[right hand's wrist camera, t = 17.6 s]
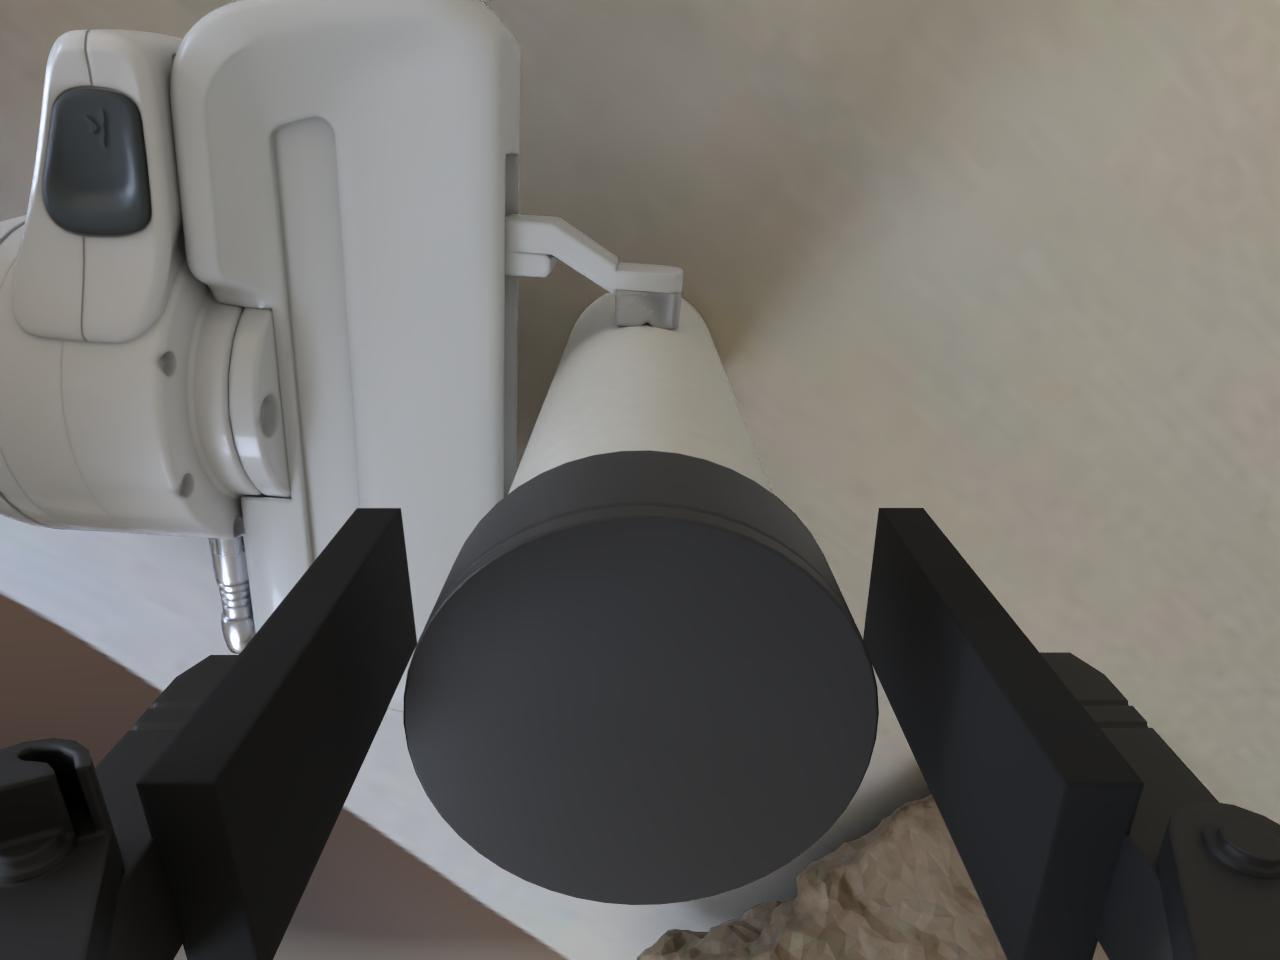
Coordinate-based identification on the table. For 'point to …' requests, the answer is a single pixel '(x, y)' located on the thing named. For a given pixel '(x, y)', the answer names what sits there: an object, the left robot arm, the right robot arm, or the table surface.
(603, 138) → the table surface
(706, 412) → the white bottle
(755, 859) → the lid
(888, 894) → the stone
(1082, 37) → the table surface
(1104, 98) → the table surface
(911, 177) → the table surface
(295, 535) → the left robot arm
